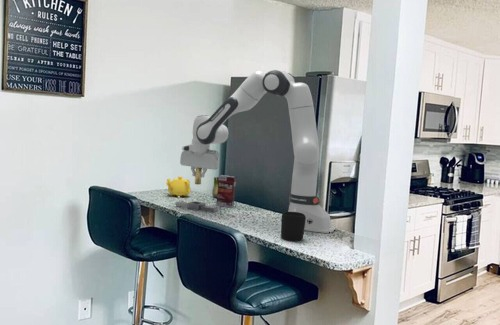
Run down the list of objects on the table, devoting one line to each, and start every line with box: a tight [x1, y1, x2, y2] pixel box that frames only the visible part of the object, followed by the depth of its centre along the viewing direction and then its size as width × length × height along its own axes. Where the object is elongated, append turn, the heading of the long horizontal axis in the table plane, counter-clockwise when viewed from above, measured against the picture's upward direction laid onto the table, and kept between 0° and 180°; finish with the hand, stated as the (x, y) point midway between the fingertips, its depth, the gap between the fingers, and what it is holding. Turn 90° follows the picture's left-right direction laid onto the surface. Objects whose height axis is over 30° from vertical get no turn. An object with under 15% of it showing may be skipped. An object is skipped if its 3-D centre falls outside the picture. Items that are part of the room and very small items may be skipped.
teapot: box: [165, 176, 191, 197], centre depth 278 cm, size 14×14×11 cm
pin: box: [194, 167, 203, 185], centre depth 242 cm, size 3×3×8 cm
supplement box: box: [215, 174, 237, 208], centre depth 257 cm, size 9×5×16 cm, turn 76°
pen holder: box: [280, 211, 306, 242], centre depth 194 cm, size 9×9×10 cm
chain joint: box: [174, 200, 219, 214], centre depth 243 cm, size 22×6×3 cm, turn 65°
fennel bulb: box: [212, 176, 219, 198], centre depth 284 cm, size 6×5×12 cm
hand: (198, 176), depth 242 cm, fingers closed on pin, 3 cm apart
